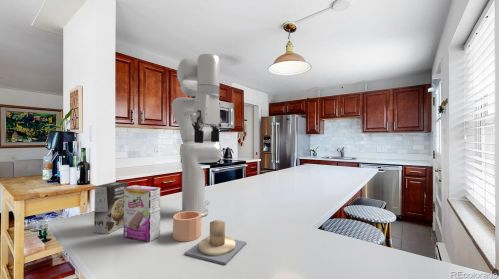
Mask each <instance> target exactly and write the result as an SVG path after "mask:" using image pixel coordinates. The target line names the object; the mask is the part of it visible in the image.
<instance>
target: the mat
mask: <svg viewBox="0 0 499 279" xmlns="http://www.w3.org/2000/svg"><path fill="white" fill-rule="evenodd" d="M208 237H210V235H208V236H206V238H208ZM232 239H233V240H234V241H235V249H234V250H233V251H232V252H230V253H228V254H225V255H220V256H209V255H205V254H203V253H201V252H200V251H199V243H200V242H201V241H199V242H198V243H196V244H195V245H193V246H192V247H190V248H189V249H188V250H186V251H185V252H184V255H186V256H189V257H192V258H197V259H201V260H204V261H209V262H213V263H217V264H219V265H223V266H226V265H227V264H228V263H229V262H230V261H231V260H232V259H233V258H234V257H235V256H236V255H237V254H238V253H239V252H240V251H241V250H242V249H243V248H244V247H245V246H246V245H247V241H245V240H239V239H234V238H232Z"/></svg>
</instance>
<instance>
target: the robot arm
mask: <svg viewBox="0 0 499 279" xmlns="http://www.w3.org/2000/svg"><path fill="white" fill-rule="evenodd" d="M220 64H221V62H220V58H219V56H218V55H216V54H212V53H201V54H199V55H198V57H197V59H193V58H183V59H181V60H180V61H179V64H178V66H177V69H176V78H177V80H178V82H179V84H180V90H181V92H182V94H184V95H185V96H188V97H184V96H181V97H176V98H175V99H174V100H173V101H172V104H171V110H172V115H173V118H174V120H175V123H176V124H177V125H178V128H179V133H180V139H181V143H182V144H181V146H180V148H179V154H180V160H181V170H182V171H181V172H182V175H181V177H182V178H181V179H182V180H181V182H182V183H181V184H182V186H181V187H182V188H181V189H182V190H181V191H182V192H181V209H180V210H178V212H177V213H180V212H185V211H196V212H200V213H201V214H202V218H203V217H205V216H207V215H208V214H209V209H208V208H206V207H207V206H208V205H210V203H211V202H210V200H206V198H205V197H206V196H205V194H206V192H205V191H206V190H205V189H206V177H205V176H206V175H205V174H206V173H205V170H204V169H203V167H201V165H200V164H202V163H203V164H205V163H206V164H207V163H217V162H219V161H220V159H221V158H222V147H221V143H220V131H221V127H222V123H223V119H222V117H221V107H220V105H221V104H220V81H221V80H220V79H221V78H220V77H221V76H220V74H221V72H220V70H221V65H220Z"/></svg>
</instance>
